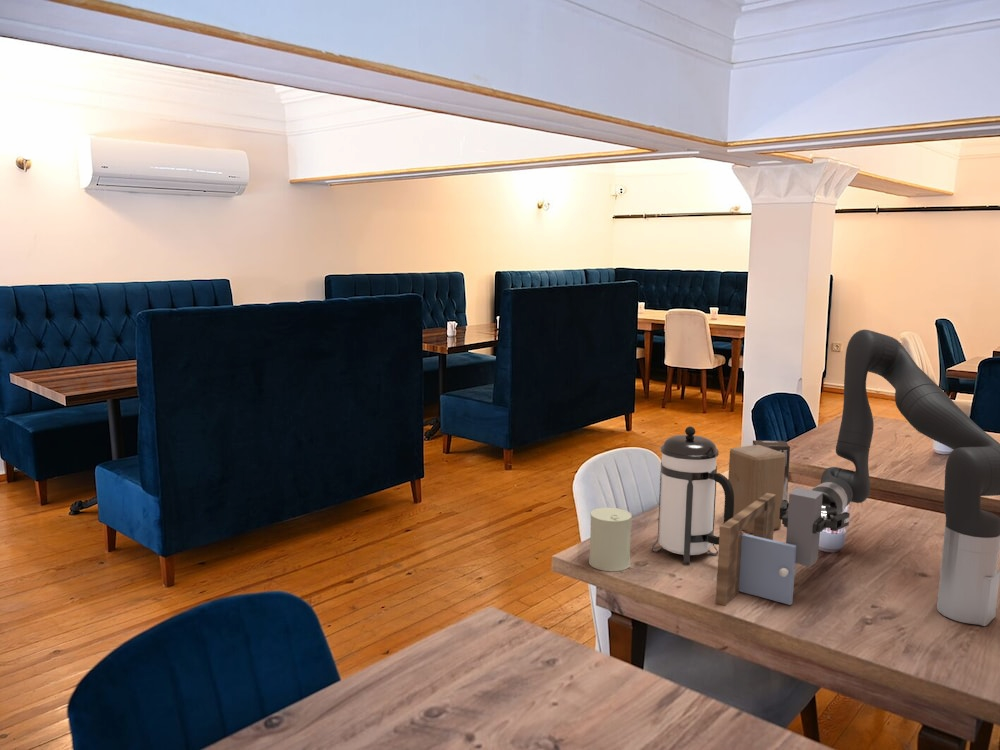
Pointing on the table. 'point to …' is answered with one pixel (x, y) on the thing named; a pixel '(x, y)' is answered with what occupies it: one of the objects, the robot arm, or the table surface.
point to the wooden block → (756, 478)
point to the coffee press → (690, 495)
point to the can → (610, 539)
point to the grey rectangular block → (804, 524)
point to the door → (767, 568)
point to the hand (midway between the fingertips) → (800, 525)
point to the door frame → (732, 541)
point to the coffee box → (785, 448)
